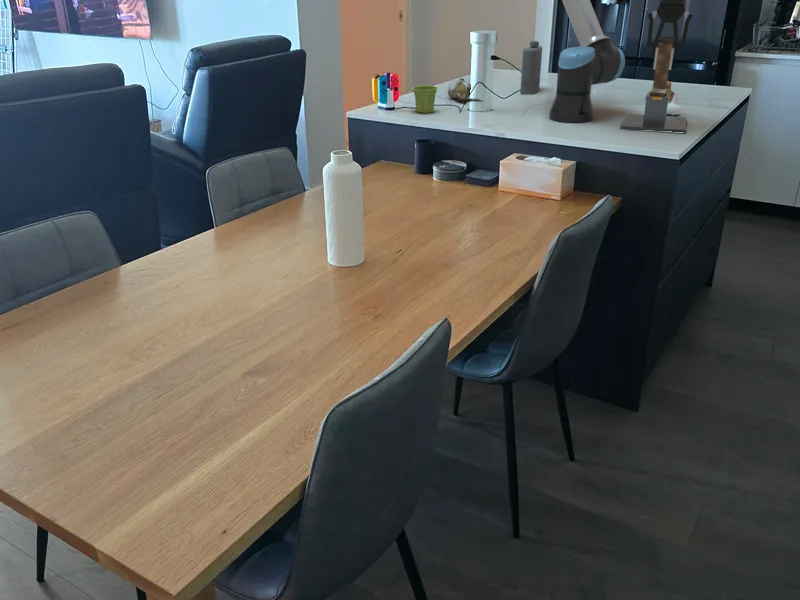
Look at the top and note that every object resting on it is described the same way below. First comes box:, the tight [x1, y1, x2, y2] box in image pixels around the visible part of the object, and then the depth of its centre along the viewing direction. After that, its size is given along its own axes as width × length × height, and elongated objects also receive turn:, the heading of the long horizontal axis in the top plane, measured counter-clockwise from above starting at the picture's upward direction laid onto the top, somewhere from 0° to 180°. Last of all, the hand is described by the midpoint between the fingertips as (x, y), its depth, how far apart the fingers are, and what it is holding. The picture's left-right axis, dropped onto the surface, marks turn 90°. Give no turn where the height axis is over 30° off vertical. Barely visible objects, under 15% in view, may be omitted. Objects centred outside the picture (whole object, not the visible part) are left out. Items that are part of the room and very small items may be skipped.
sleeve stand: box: [619, 91, 688, 133], centre depth 233 cm, size 20×20×10 cm
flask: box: [519, 40, 543, 96], centre depth 288 cm, size 15×6×20 cm, turn 155°
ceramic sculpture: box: [447, 78, 472, 102], centre depth 276 cm, size 11×9×15 cm
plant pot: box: [411, 85, 439, 114], centre depth 258 cm, size 9×9×9 cm
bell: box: [645, 80, 675, 101], centre depth 272 cm, size 12×12×7 cm
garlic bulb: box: [666, 91, 682, 116], centre depth 248 cm, size 6×6×8 cm
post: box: [651, 34, 675, 96], centre depth 227 cm, size 6×6×22 cm
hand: (662, 68), depth 227 cm, fingers closed on post, 4 cm apart
